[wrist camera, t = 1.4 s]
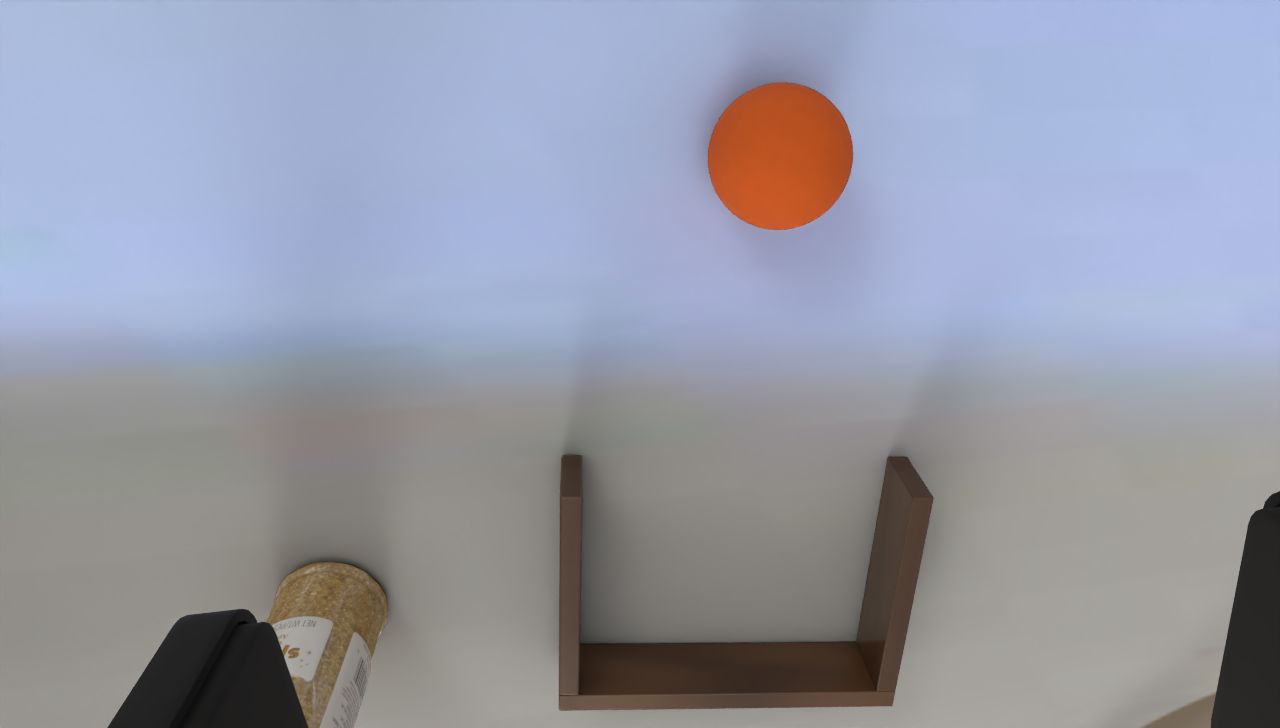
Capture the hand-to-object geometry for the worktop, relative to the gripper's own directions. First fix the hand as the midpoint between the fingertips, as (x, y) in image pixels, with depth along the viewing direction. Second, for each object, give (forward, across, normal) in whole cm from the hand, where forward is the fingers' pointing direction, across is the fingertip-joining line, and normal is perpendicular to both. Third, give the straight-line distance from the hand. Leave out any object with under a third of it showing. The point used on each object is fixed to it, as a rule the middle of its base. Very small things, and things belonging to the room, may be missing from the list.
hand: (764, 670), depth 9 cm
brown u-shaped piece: (+24, -1, +17) cm, 29 cm away
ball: (+22, -4, 0) cm, 22 cm away
